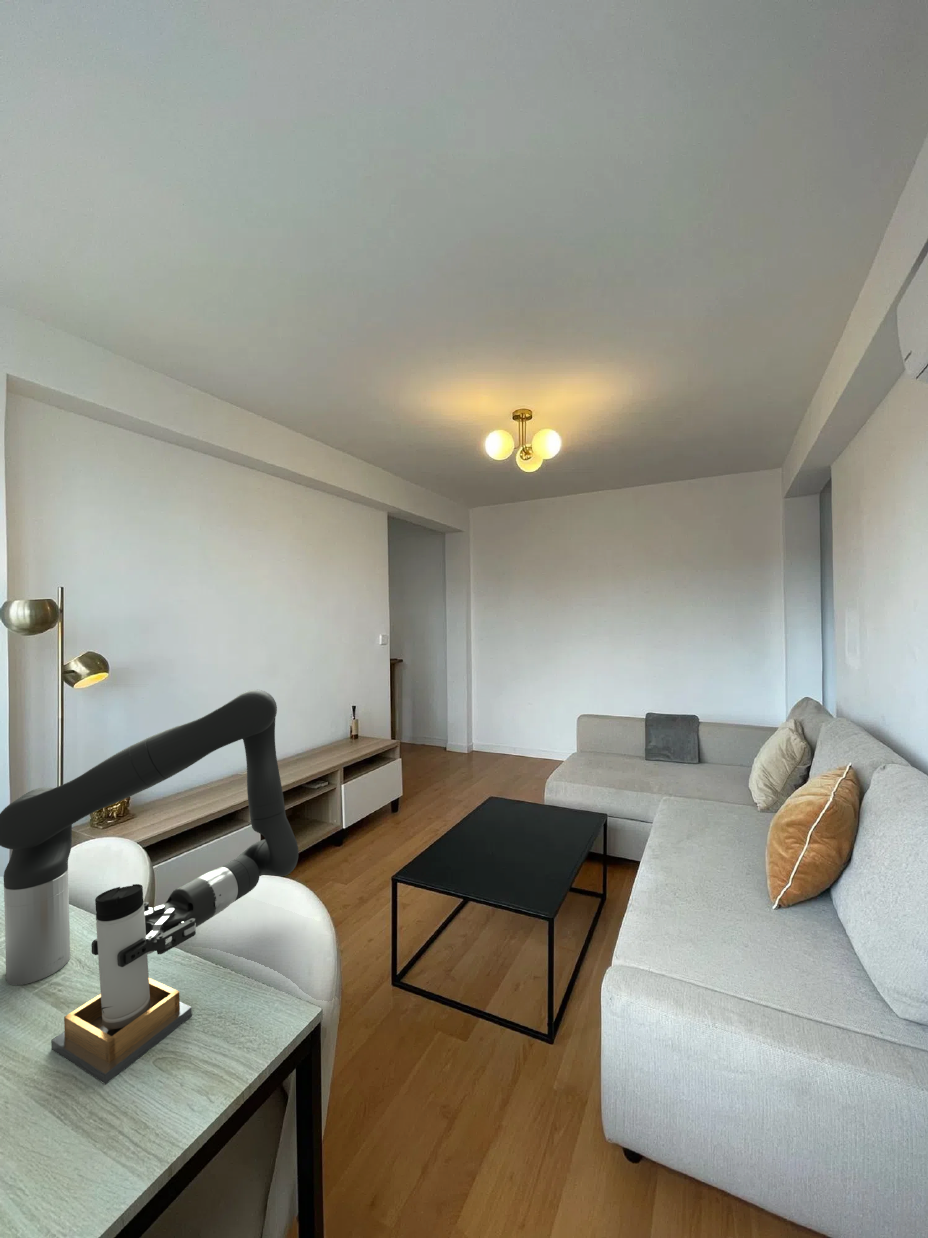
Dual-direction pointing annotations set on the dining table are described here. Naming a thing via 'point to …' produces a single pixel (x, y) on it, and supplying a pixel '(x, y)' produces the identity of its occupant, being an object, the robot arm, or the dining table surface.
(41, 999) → the dining table surface
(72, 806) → the robot arm
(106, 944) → the travel mug
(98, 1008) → the wooden tray
